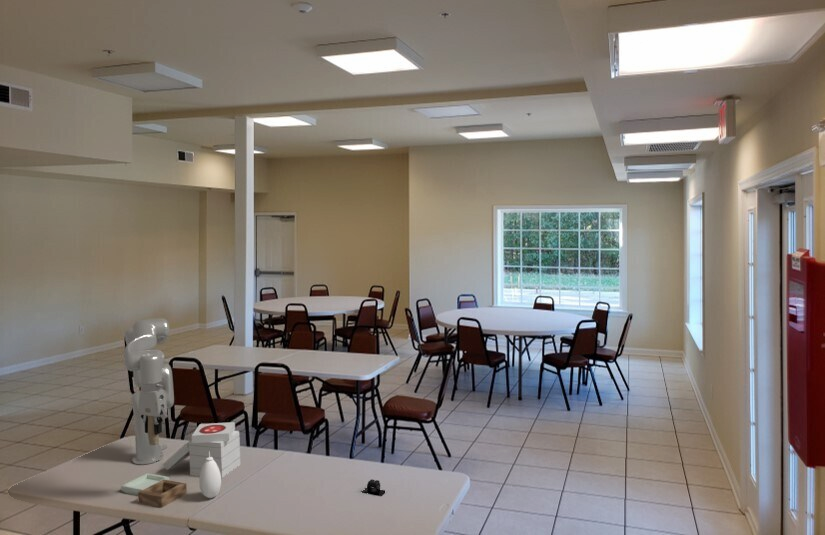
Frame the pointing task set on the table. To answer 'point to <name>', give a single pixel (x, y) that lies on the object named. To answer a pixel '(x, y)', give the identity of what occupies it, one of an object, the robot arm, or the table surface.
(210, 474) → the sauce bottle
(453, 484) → the table surface
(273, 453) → the table surface
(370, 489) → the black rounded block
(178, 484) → the small wooden box
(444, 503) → the table surface
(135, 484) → the tray
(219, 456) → the pizza box stack
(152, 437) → the handle
